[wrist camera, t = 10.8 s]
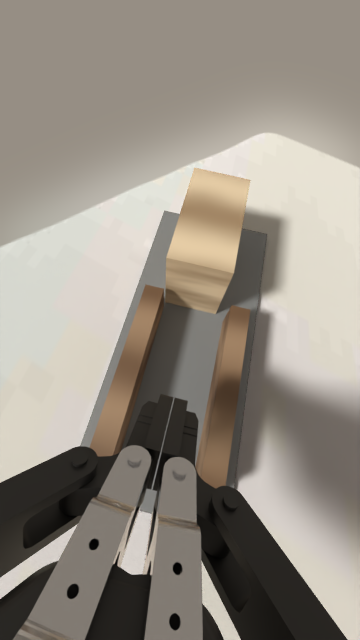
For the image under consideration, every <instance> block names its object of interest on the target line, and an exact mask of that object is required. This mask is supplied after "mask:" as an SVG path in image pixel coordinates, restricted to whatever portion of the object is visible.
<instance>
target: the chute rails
mask: <svg viewBox="0 0 360 640" xmlns="http://www.w3.org/2000/svg"><path fill="white" fill-rule="evenodd" d="M163 308H164V289H163V288H159V287H155V286H150V285H146V284H145V287H144V290H143V293H142V296H141V299H140V302H139V305H138V308H137V311H136V314H135V316H134V319H133V322H132V325H131V328H130V331H129V334H128V337H127V340H126V343H125V346H124V348H123V351H122V354H121V357H120V360H119V363H118V366H117V369H116V372H115V375H114V378H113V380H112V383H111V386H110V389H109V392H108V395H107V398H106V401H105V404H104V407H103V410H102V412H101V415H100V418H99V421H98V424H97V427H96V430H95V433H94V436H93V439H92V442H91V444H90V447H89V448H91V449H93V450H94V451H95V452H96V454H97V456H112V455H115V454H118V453H120V452H121V449H122V446H123V443H124V439H125V436H126V432H127V429H128V426H129V422H130V419H131V416H132V412H133V409H134V406H135V402H136V399H137V395H138V392H139V389H140V385H141V382H142V379H143V375H144V372H145V369H146V365H147V362H148V358H149V355H150V352H151V348H152V345H153V342H154V338H155V335H156V332H157V328H158V325H159V321H160V318H161V315H162V311H163ZM249 317H250V309H246V308H242V307H237V306H233V305H231V307H230V309H229V311H228V313H227V315H226V316H225V318H224V320H223V322H222V328H221V333H220V338H219V344H218V349H217V354H216V360H215V365H214V370H213V376H212V381H211V386H210V392H209V397H208V402H207V408H206V413H205V418H204V424H203V429H202V434H201V440H200V445H199V450H198V456H197V461H196V466H195V467H196V471H197V473H198V474H199V476H200V477H201V478H202V479H203V480H204V481H205V482H206V483H208V484H209V485H211V486H212V487H214V488H218V487H220V486H226V479H227V472H228V465H229V458H230V451H231V444H232V437H233V430H234V423H235V416H236V408H237V401H238V394H239V387H240V380H241V373H242V366H243V359H244V352H245V345H246V338H247V331H248V324H249Z"/></svg>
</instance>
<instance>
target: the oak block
mask: <svg viewBox="0 0 360 640" xmlns="http://www.w3.org/2000/svg"><path fill="white" fill-rule="evenodd" d="M249 184H250V180H248V179H244V178H239V177H235V176H230V175H226V174H221V173H217V172H212V171H207V170H203V169H198V168H194V171H193V174H192V177H191V180H190V184H189V187H188V190H187V193H186V196H185V200H184V203H183V206H182V209H181V212H180V215H179V219H178V222H177V225H176V228H175V231H174V235H173V238H172V241H171V244H170V247H169V251H168V254H167V257H166V289H165V302H166V303H171V304H175V305H179V306H183V307H187V308H192V309H196V310H200V311H204V312H208V313H213V314H216V312H217V310H218V308H219V305H220V303H221V301H222V299H223V296H224V294H225V292H226V290H227V287H228V285H229V283H230V281H231V279H232V276H233V274H234V270H235V264H236V258H237V253H238V247H239V241H240V236H241V230H242V224H243V219H244V213H245V207H246V202H247V196H248V190H249Z"/></svg>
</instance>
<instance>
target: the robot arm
mask: <svg viewBox="0 0 360 640" xmlns="http://www.w3.org/2000/svg"><path fill="white" fill-rule="evenodd" d="M173 398H174V397H171V396H167V395H164V394H160V397H159V400H158V403H155V402H151V401H148V402H147V403H146V404H144V405H143V406H142V408H141V410H140V413H139V415H138V418H137V421H136V423H135V425H134V428H133V430H132V433H131V435H130V438H129V440H128V443H127V445H126V447H125V448H124V449H123V450H122V451H121V452H120V453H118V454H115V455H112V456H97V454H96V452H95V451H94V450H93V449H91V448H89V447H85V446H79V447H75V448H72V449H70V450H68V451H66V452H64V453H62V454H60V455H58V456H56V457H53V458H51V459H49V460H47V461H45V462H43V463H41V464H39V465H37V466H35V467H33V468H30V469H28V470H26V471H24V472H22V473H20V474H18V475H16V476H14V477H12V478H10V479H7V480H5V481H3V482H1V483H0V577H2V576H3V575H4V574H6V573H7V572H9V571H10V570H12V569H13V568H15V567H16V566H17V565H19V564H20V563H22V562H23V561H25V560H26V559H28V558H29V557H30V556H32V555H33V554H35V553H36V552H38V551H39V550H40V549H42V548H43V547H45V546H46V545H48V544H49V543H51V542H52V541H53V540H55V539H56V538H58V537H59V536H61V535H62V534H64V533H65V532H66V531H68V530H69V529H71V528H72V527H74V526H75V525H76V524H78V525H77V527H76V529H75V531H74V533H73V535H72V536H71V538H70V540H69V542H68V544H67V546H66V548H65V550H64V551H63V553H62V555H61V557H60V559H59V561H56V562H53V563H51V564H49V565H47V566H45V567H43V568H41V569H39V570H38V571H36V572H35V573H33V574H32V575H31V576H29V577H28V578H27V579H25V580H24V581H23V582H22V583H20V584H19V585H18V586H16V587H15V588H14V589H13V590H11V591H10V592H9V593H8V594H6V595H5V596H4V597H2V598H1V599H0V640H224V639H223V637H222V634H221V632H220V630H219V628H218V626H217V624H216V622H215V621H214V619H213V617H212V616H211V614H210V613H209V611H208V610H207V609H206V607H205V606H204V605H203V604H202V568H201V560H202V562H203V564H204V566H205V568H206V570H207V572H208V574H209V576H210V578H211V580H212V582H213V584H214V586H215V588H216V590H217V592H218V594H219V596H220V598H221V600H222V602H223V604H224V606H225V608H226V610H227V612H228V614H229V616H230V618H231V620H232V622H233V624H234V626H235V628H236V630H237V632H238V634H239V636H240V638H241V640H347V638H346V637H345V636H344V634H343V633H342V632H341V630H340V629H339V627H338V626H337V625H336V623H335V622H334V621H333V619H332V618H331V616H330V615H329V614H328V612H327V611H326V610H325V608H324V607H323V606H322V604H321V603H320V601H319V600H318V599H317V597H316V596H315V595H314V593H313V592H312V590H311V589H310V588H309V586H308V585H307V584H306V582H305V581H304V579H303V578H302V577H301V575H300V574H299V573H298V571H297V570H296V568H295V567H294V566H293V564H292V563H291V562H290V560H289V559H288V558H287V556H286V555H285V553H284V552H283V551H282V549H281V548H280V547H279V545H278V544H277V542H276V541H275V540H274V538H273V537H272V536H271V534H270V533H269V531H268V530H267V529H266V527H265V526H264V525H263V523H262V522H261V520H260V519H259V518H258V516H257V515H256V514H255V512H254V511H253V510H252V508H251V507H250V505H249V504H248V503H247V501H246V500H245V499H244V497H243V496H242V495H241V493H240V492H238V491H237V490H236V489H234V488H233V487H230V486H220V487H218V488H214V487H212V486H211V485H209V484H208V483H206V482H205V481H204V480H203V479H202V478H201V477H200V476H199V474H198V473H197V471H196V467H195V458H196V446H197V435H198V423H199V421H198V418H197V416H196V413H193V412H189V411H186V410H187V404H188V401H187V400H183V399H179V398H175V399H174V403H173V407H172V411H171V415H170V419H169V423H168V418H169V414H170V410H171V406H172V402H173ZM167 423H168V427H167ZM166 427H167V431H166ZM165 431H166V435H165ZM164 435H165V439H164ZM163 439H164V444H163V448H162V443H163ZM161 448H162V452H161ZM160 452H161V456H160ZM159 456H160V460H159ZM158 460H159V465H158V469H157V473H156V477H155V482H154V486H153V490H155V491H157V493H156V498H155V502H154V506H153V510H152V517H151V523H150V530H149V537H148V544H147V551H146V558H145V564H144V569H143V574H141V575H131V574H129V573H127V572H126V571H124V570H123V569H122V568H120V567H121V564H122V560H123V557H124V554H125V551H126V548H127V545H128V542H129V539H130V536H131V533H132V530H133V528H134V525H135V522H136V519H137V516H138V513H139V510H140V507H141V504H142V503H143V500H144V497H145V493H146V489H151V488H152V484H153V480H154V476H155V472H156V468H157V464H158Z"/></svg>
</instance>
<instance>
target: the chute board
mask: <svg viewBox="0 0 360 640" xmlns="http://www.w3.org/2000/svg"><path fill="white" fill-rule="evenodd" d="M179 215H180V214H177V213H173V212H168V211H164V213H163V216H162V219H161V222H160V225H159V227H158V230H157V233H156V236H155V239H154V241H153V244H152V247H151V250H150V253H149V255H148V258H147V261H146V264H145V266H144V269H143V272H142V275H141V278H140V280H139V283H138V286H137V289H136V292H135V294H134V297H133V300H132V303H131V306H130V308H129V311H128V314H127V317H126V320H125V322H124V325H123V328H122V331H121V334H120V336H119V339H118V342H117V345H116V348H115V350H114V353H113V356H112V359H111V362H110V364H109V367H108V370H107V373H106V376H105V378H104V381H103V384H102V387H101V390H100V392H99V395H98V398H97V401H96V404H95V406H94V409H93V412H92V415H91V417H90V420H89V423H88V426H87V429H86V431H85V434H84V437H83V440H82V443H81V445H80V446H85V447H90V444H91V442H92V439H93V436H94V433H95V430H96V427H97V424H98V421H99V418H100V415H101V412H102V410H103V407H104V404H105V401H106V398H107V395H108V392H109V389H110V386H111V383H112V380H113V378H114V375H115V372H116V369H117V366H118V363H119V360H120V357H121V354H122V351H123V348H124V346H125V343H126V340H127V337H128V334H129V331H130V328H131V325H132V322H133V319H134V316H135V314H136V311H137V308H138V305H139V302H140V299H141V296H142V293H143V290H144V287H145V284H146V285H150V286H155V287H159V288H163V289H164V308H163V311H162V315H161V318H160V321H159V325H158V328H157V332H156V335H155V338H154V342H153V345H152V348H151V352H150V355H149V358H148V362H147V365H146V369H145V372H144V375H143V379H142V382H141V385H140V389H139V392H138V395H137V399H136V402H135V406H134V409H133V412H132V416H131V419H130V422H129V426H128V429H127V432H126V436H125V439H124V443H123V446H122V449H121V451H122V450H123V449H124V448H125V447H126V445H127V443H128V440H129V438H130V435H131V433H132V430H133V428H134V425H135V423H136V421H137V418H138V415H139V413H140V410H141V408H142V406H143V405H144V404H146V403H147V402H148V401H151V402H155V403H158V400H159V397H160V394H164V395H167V396H171V397H174V398H173V402H172V406H171V410H170V414H169V418H168V423H169V419H170V415H171V411H172V407H173V403H174V399H175V398H179V399H183V400H187V401H188V404H187V410H186V411H189V412H193V413H196V416H197V418H198V421H199V423H198V435H197V446H196V458H195V466H196V461H197V456H198V450H199V445H200V440H201V434H202V429H203V424H204V418H205V413H206V408H207V402H208V397H209V392H210V386H211V381H212V376H213V370H214V365H215V360H216V354H217V349H218V344H219V338H220V333H221V328H222V322H223V320H224V318H225V316H226V315H227V313H228V311H229V309H230V307H231V305H233V306H237V307H242V308H246V309H250V317H249V324H248V331H247V338H246V345H245V352H244V359H243V366H242V373H241V380H240V387H239V394H238V401H237V408H236V416H235V423H234V430H233V437H232V444H231V451H230V458H229V465H228V472H227V479H226V486H230V487H233V488H234V483H235V476H236V468H237V460H238V453H239V445H240V437H241V430H242V422H243V414H244V407H245V399H246V391H247V384H248V376H249V368H250V361H251V353H252V345H253V337H254V330H255V322H256V314H257V307H258V299H259V291H260V284H261V276H262V268H263V261H264V253H265V245H266V238H267V234H264V233H259V232H255V231H251V230H246V229H242V230H241V236H240V241H239V247H238V253H237V258H236V264H235V270H234V274H233V276H232V279H231V281H230V283H229V285H228V287H227V290H226V292H225V294H224V296H223V299H222V301H221V303H220V305H219V308H218V310H217V312H216V314H213V313H208V312H204V311H200V310H196V309H192V308H187V307H183V306H179V305H175V304H171V303H166V302H165V289H166V257H167V254H168V251H169V247H170V244H171V241H172V238H173V235H174V231H175V228H176V225H177V222H178V219H179ZM168 423H167V427H168ZM167 427H166V431H167ZM166 431H165V435H166ZM165 435H164V439H165ZM164 439H163V443H162V448H163V444H164ZM162 448H161V452H162ZM161 452H160V456H161ZM160 456H159V460H160ZM159 460H158V464H157V468H156V472H155V476H154V480H153V484H152V488H151V489H146V493H145V497H144V500H143V503H142V504H141V507H140V511H143V512H147V513H151V514H152V510H153V506H154V502H155V498H156V493H157V491H155V490H153V486H154V482H155V477H156V473H157V469H158V465H159Z"/></svg>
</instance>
